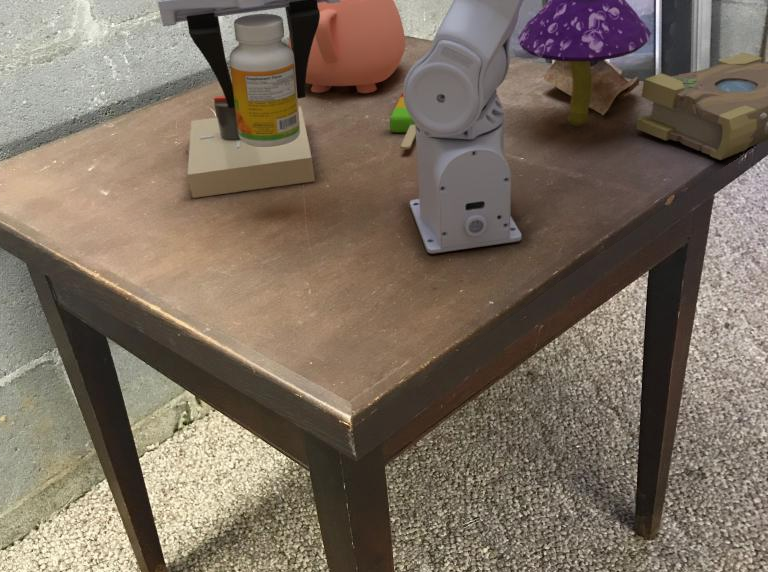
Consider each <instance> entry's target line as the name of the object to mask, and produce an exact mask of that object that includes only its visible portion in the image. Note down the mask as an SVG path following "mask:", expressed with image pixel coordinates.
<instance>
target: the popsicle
mask: <svg viewBox="0 0 768 572" xmlns="http://www.w3.org/2000/svg"><path fill="white" fill-rule="evenodd" d="M389 127H390V131H391V132H392V133H405V135H404V137H403V139H402V141H401V144H400V149H401V150H410V149H411V148H412V146H413V143H414V141H415V140H416V129H415V122H414V121H413V120H412V118H411V117H410V115H409V113H408V111H407V109H406V106H405V103H404V97H403V92H402V93H401V95H400V97H399V99H398V101H397V103H396V105H395V107H394V109H393V111H392V113H391V115H390V117H389Z"/></svg>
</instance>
